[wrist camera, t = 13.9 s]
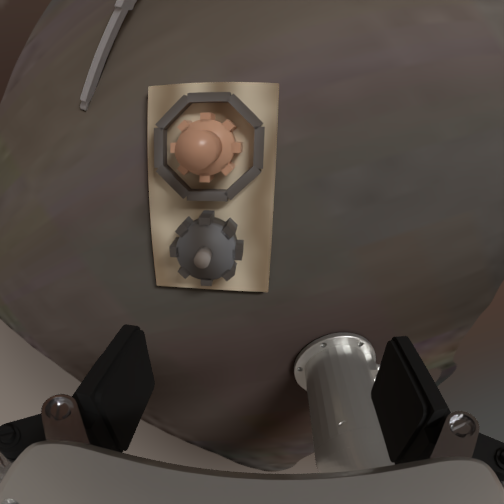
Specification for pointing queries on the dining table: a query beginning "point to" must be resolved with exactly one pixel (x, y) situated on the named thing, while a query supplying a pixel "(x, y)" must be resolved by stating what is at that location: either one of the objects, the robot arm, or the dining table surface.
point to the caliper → (104, 50)
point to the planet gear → (206, 147)
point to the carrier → (213, 188)
